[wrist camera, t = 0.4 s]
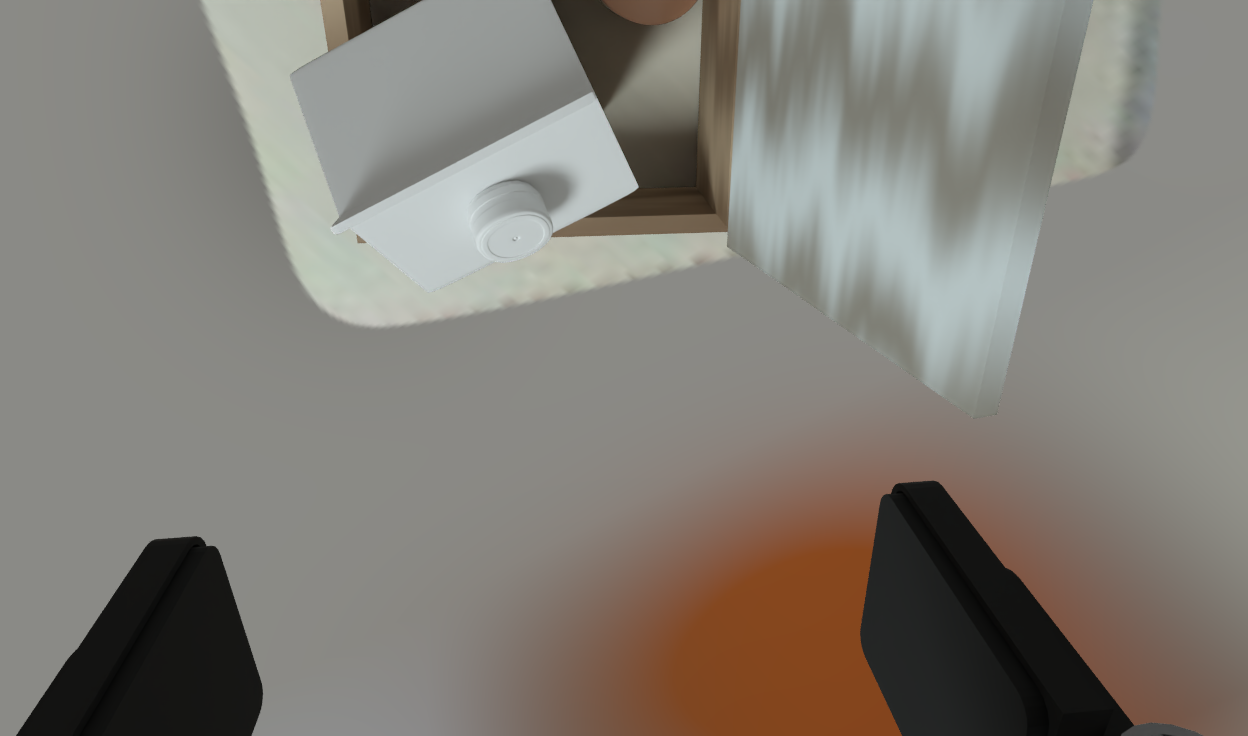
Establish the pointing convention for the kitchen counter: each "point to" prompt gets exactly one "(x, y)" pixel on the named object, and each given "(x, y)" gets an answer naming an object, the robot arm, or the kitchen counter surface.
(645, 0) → the tan rounded ovoid
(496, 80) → the milk carton
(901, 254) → the box
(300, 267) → the kitchen counter surface
